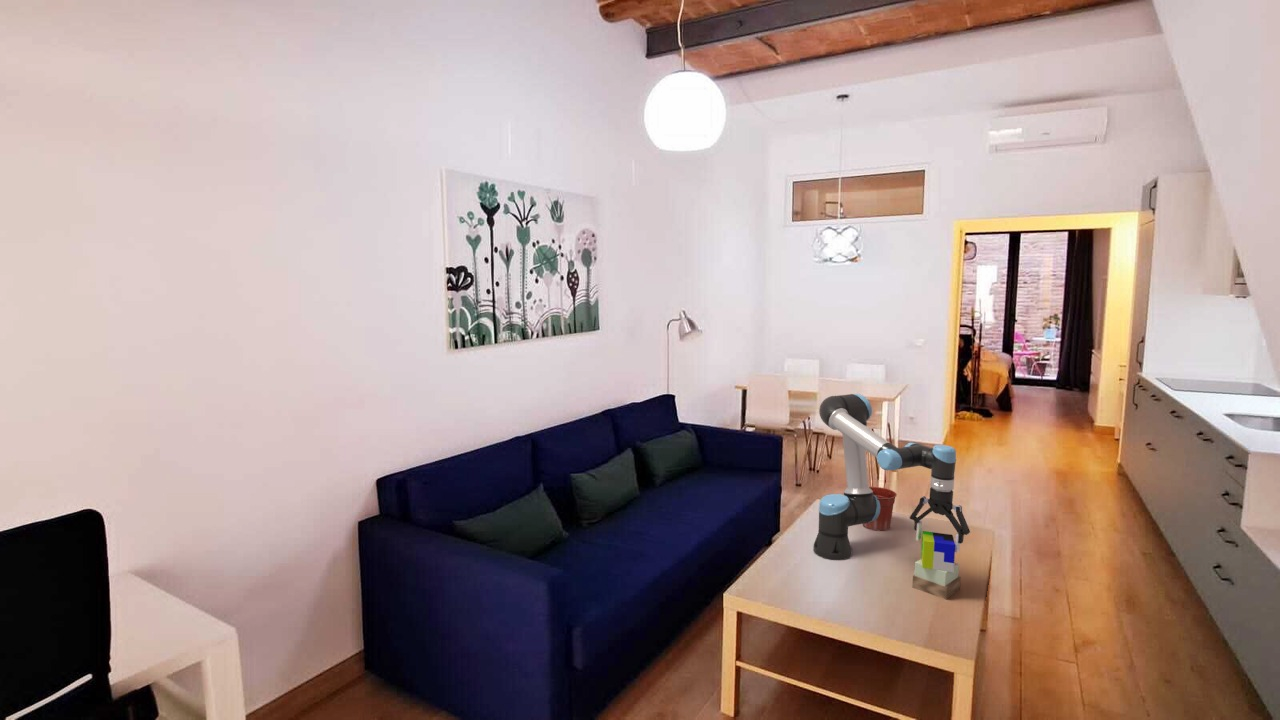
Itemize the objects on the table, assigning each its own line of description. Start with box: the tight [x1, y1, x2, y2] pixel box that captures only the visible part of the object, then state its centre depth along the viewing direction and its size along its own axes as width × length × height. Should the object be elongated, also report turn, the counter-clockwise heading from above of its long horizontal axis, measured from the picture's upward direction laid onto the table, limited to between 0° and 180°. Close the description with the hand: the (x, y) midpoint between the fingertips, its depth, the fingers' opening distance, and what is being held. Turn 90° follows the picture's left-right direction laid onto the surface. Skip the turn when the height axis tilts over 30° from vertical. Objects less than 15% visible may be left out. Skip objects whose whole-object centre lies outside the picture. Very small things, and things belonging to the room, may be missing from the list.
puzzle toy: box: [920, 530, 956, 572], centre depth 228 cm, size 10×10×10 cm
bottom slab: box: [912, 575, 961, 600], centre depth 230 cm, size 12×12×5 cm
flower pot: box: [862, 486, 898, 532], centre depth 289 cm, size 16×16×16 cm
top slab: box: [913, 558, 960, 586], centre depth 230 cm, size 11×11×5 cm
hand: (937, 545), depth 229 cm, fingers open, 13 cm apart
